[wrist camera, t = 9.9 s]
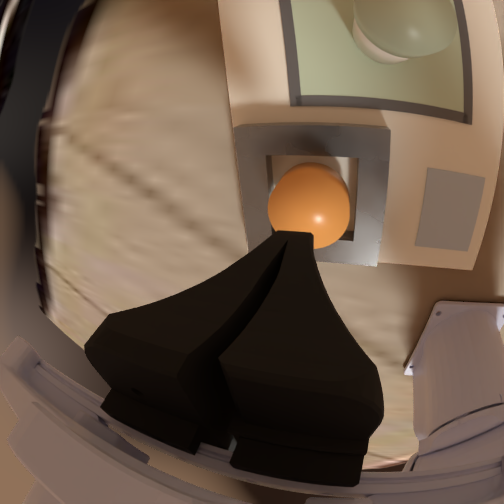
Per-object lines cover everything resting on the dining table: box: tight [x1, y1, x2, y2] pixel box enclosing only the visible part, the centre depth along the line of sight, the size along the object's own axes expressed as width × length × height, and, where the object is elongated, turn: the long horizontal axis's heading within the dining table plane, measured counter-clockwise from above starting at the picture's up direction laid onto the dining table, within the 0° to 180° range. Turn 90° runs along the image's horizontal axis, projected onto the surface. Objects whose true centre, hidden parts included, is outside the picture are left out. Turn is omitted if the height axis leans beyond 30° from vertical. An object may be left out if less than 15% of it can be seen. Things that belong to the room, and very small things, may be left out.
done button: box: [268, 162, 350, 249], centre depth 14 cm, size 4×4×2 cm
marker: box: [352, 0, 457, 65], centre depth 7 cm, size 3×3×6 cm
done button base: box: [233, 122, 391, 267], centre depth 15 cm, size 8×8×1 cm
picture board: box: [218, 0, 504, 270], centre depth 12 cm, size 18×16×1 cm
